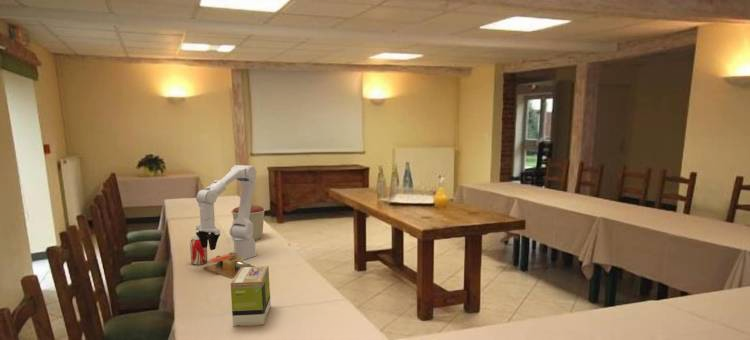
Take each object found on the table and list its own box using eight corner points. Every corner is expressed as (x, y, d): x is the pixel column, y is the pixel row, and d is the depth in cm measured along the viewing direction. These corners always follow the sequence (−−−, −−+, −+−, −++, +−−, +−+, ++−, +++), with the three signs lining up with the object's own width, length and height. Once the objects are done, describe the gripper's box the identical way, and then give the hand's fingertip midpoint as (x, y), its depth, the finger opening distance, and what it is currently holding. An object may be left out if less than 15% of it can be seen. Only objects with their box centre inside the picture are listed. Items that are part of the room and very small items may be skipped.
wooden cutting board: (202, 269, 193) (202, 258, 193) (229, 260, 205) (229, 250, 204) (232, 278, 181) (232, 267, 181) (259, 269, 193) (259, 258, 192)
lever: (233, 255, 196) (233, 251, 195) (238, 256, 194) (238, 253, 194) (210, 262, 186) (210, 258, 186) (214, 263, 184) (214, 260, 184)
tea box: (242, 306, 154) (240, 266, 152) (271, 305, 155) (270, 265, 153) (231, 326, 139) (230, 281, 137) (264, 325, 140) (262, 280, 138)
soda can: (201, 266, 197) (200, 240, 196) (187, 265, 199) (186, 239, 197) (210, 261, 204) (209, 235, 203) (197, 260, 205) (195, 235, 204)
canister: (271, 236, 249) (270, 199, 246) (257, 244, 231) (256, 205, 229) (241, 234, 252) (240, 198, 250) (225, 243, 234) (224, 204, 232)
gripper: (189, 217, 189) (190, 247, 191) (209, 221, 181) (210, 253, 183) (203, 214, 195) (205, 244, 197) (223, 218, 187) (225, 249, 188)
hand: (208, 248), depth 190 cm, fingers open, 5 cm apart
